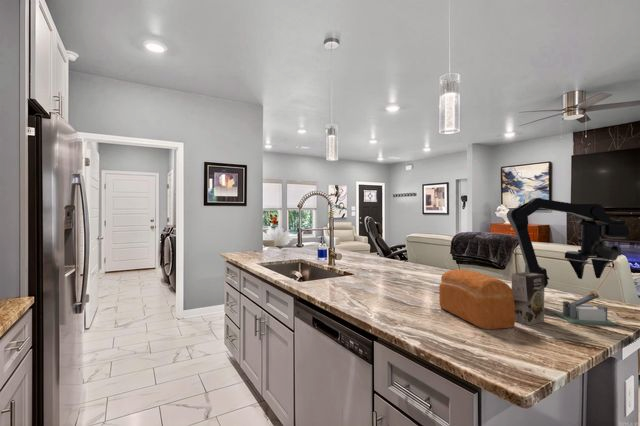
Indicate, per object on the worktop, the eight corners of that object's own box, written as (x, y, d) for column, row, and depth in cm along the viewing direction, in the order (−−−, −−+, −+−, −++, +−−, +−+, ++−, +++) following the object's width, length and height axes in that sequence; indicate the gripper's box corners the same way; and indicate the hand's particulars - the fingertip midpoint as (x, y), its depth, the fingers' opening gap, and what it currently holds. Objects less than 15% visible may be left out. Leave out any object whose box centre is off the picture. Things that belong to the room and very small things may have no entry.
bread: (467, 305, 131) (467, 265, 131) (519, 328, 105) (519, 279, 105) (435, 307, 128) (436, 266, 128) (481, 331, 102) (481, 280, 102)
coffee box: (529, 325, 107) (529, 276, 107) (510, 319, 113) (510, 273, 113) (545, 321, 111) (545, 274, 111) (526, 316, 117) (526, 271, 117)
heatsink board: (571, 323, 110) (572, 307, 110) (555, 313, 120) (555, 299, 119) (615, 325, 108) (615, 308, 108) (594, 315, 118) (594, 300, 118)
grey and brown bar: (570, 309, 113) (568, 305, 113) (566, 307, 115) (564, 303, 116) (599, 297, 112) (596, 292, 112) (594, 295, 114) (592, 290, 114)
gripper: (596, 239, 113) (594, 284, 113) (633, 239, 118) (631, 282, 118) (564, 236, 123) (562, 277, 123) (599, 236, 129) (597, 276, 129)
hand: (589, 278), depth 123 cm, fingers open, 9 cm apart
